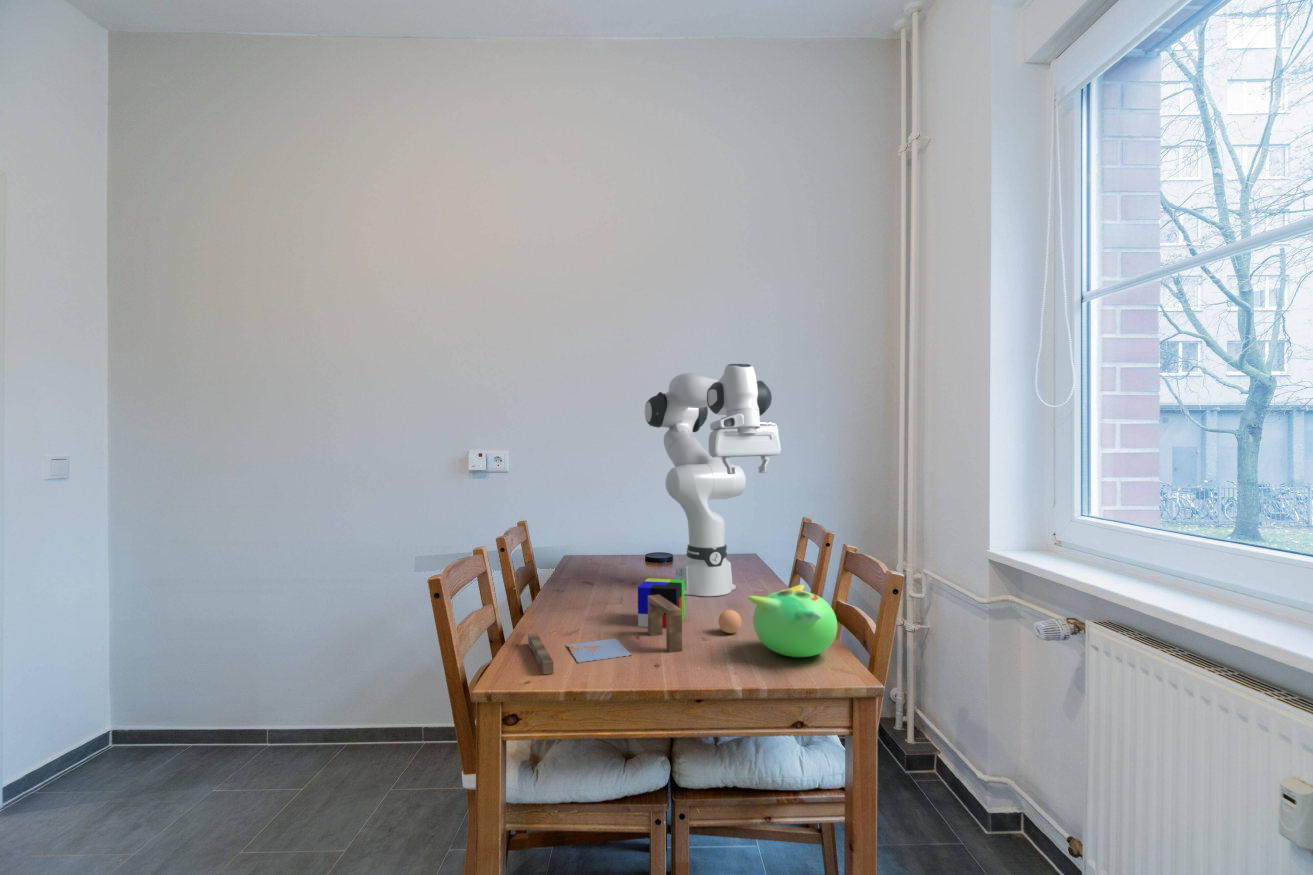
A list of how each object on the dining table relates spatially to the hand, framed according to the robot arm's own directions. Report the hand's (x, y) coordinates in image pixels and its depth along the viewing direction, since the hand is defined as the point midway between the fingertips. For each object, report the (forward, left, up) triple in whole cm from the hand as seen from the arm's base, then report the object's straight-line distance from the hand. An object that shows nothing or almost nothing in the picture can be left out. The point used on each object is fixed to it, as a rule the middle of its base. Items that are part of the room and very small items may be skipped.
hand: (747, 473), depth 170 cm
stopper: (+12, -58, -38) cm, 70 cm away
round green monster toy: (+31, -6, -38) cm, 49 cm away
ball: (+12, -12, -35) cm, 39 cm away
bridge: (+12, -29, -38) cm, 49 cm away
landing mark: (+12, -45, -38) cm, 60 cm away
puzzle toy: (-3, -24, -38) cm, 45 cm away
